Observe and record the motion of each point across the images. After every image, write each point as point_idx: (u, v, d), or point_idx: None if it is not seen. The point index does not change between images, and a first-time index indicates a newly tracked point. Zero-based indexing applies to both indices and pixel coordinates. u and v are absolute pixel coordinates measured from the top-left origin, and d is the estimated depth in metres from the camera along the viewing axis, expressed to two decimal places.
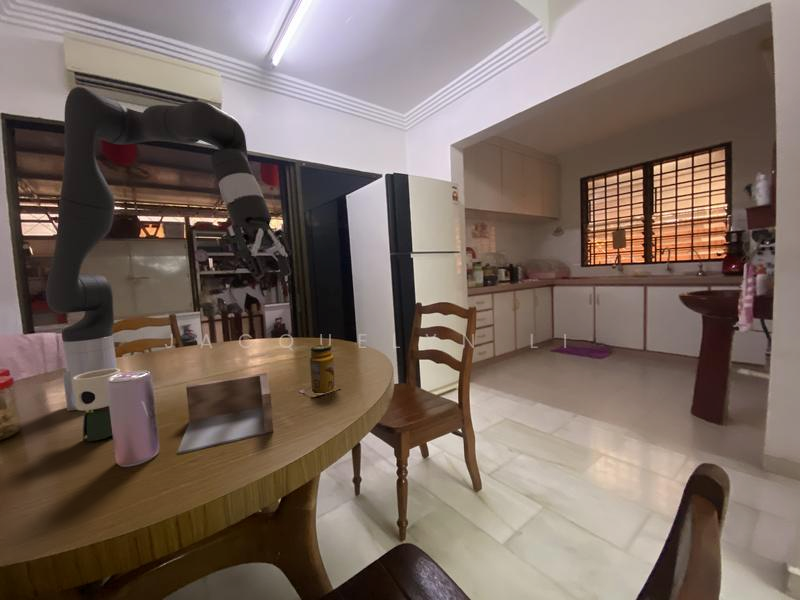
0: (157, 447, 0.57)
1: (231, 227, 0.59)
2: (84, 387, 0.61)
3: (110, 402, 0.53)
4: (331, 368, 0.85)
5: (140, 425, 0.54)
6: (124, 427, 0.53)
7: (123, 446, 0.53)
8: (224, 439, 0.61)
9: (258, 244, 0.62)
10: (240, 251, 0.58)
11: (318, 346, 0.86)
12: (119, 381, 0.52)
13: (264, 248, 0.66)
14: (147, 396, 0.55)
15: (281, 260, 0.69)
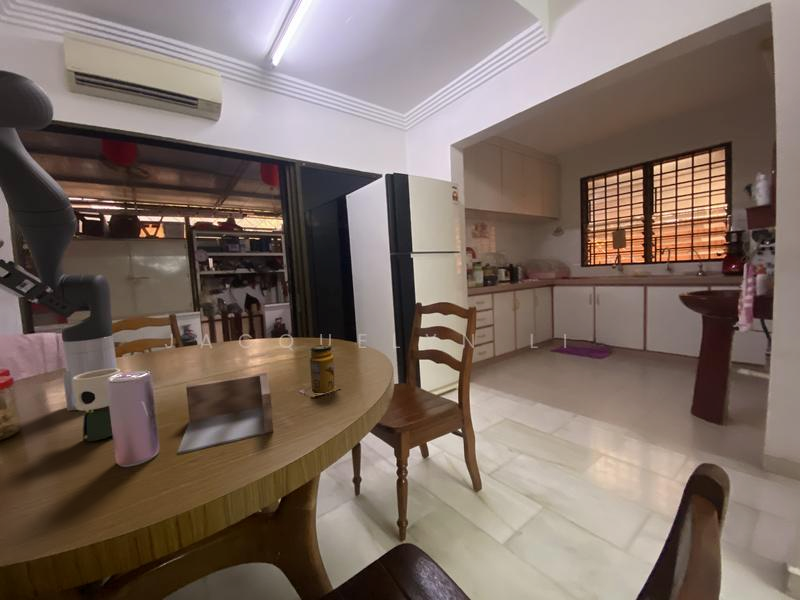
0: (157, 447, 0.57)
1: None
2: (84, 387, 0.61)
3: (110, 402, 0.53)
4: (331, 368, 0.85)
5: (140, 425, 0.54)
6: (124, 427, 0.53)
7: (123, 446, 0.53)
8: (224, 439, 0.61)
9: None
10: None
11: (318, 346, 0.86)
12: (119, 381, 0.52)
13: None
14: (147, 396, 0.55)
15: None
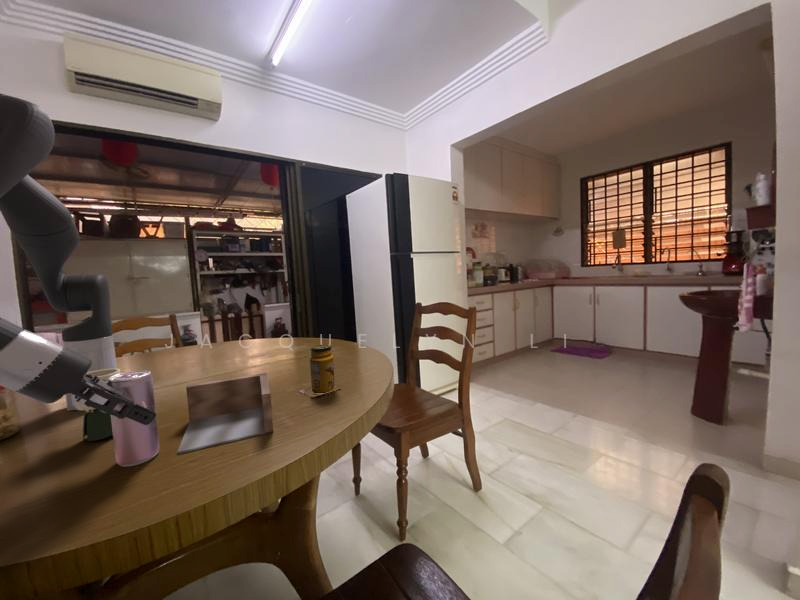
0: (157, 447, 0.57)
1: None
2: None
3: None
4: (331, 368, 0.85)
5: (141, 425, 0.54)
6: (124, 427, 0.53)
7: (124, 445, 0.53)
8: (224, 439, 0.61)
9: None
10: None
11: (318, 346, 0.86)
12: (120, 381, 0.52)
13: None
14: (147, 396, 0.55)
15: None
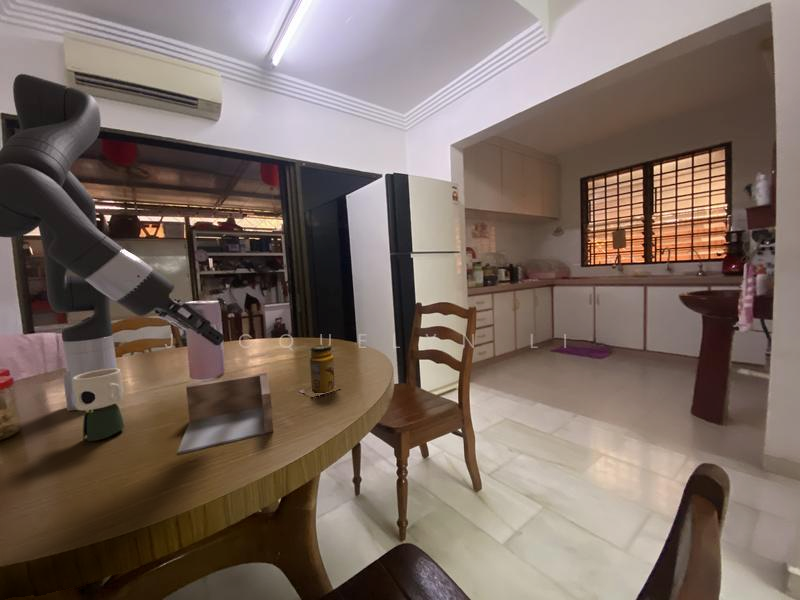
0: (224, 368, 0.63)
1: None
2: (84, 387, 0.61)
3: None
4: (331, 368, 0.85)
5: (212, 345, 0.61)
6: (199, 345, 0.59)
7: (198, 362, 0.60)
8: (224, 439, 0.61)
9: (176, 326, 0.61)
10: None
11: (318, 346, 0.86)
12: (196, 304, 0.59)
13: None
14: (217, 320, 0.62)
15: None
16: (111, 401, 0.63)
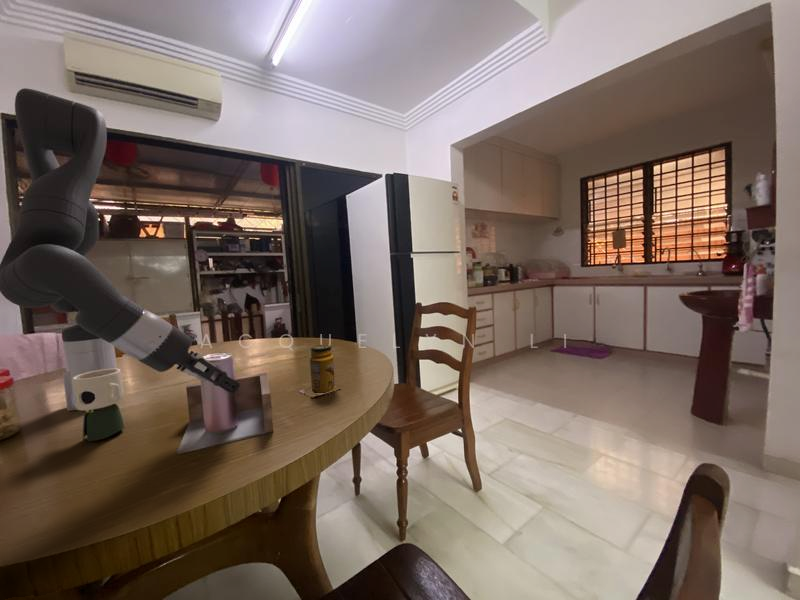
0: (237, 419, 0.66)
1: None
2: (84, 387, 0.61)
3: None
4: (331, 368, 0.85)
5: (226, 399, 0.63)
6: (214, 400, 0.62)
7: (213, 416, 0.62)
8: (224, 439, 0.61)
9: (190, 374, 0.63)
10: None
11: (318, 346, 0.86)
12: (211, 361, 0.61)
13: None
14: (231, 374, 0.64)
15: None
16: (111, 401, 0.63)
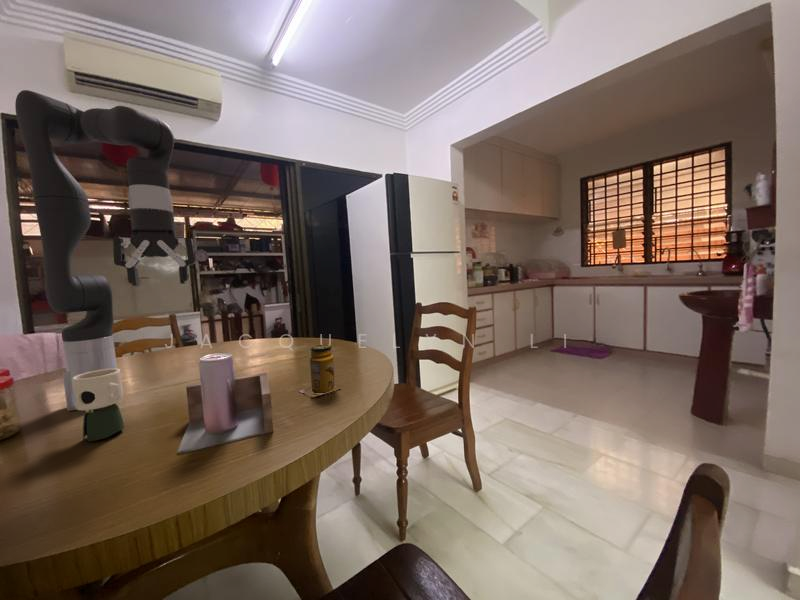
0: (237, 419, 0.66)
1: None
2: (84, 387, 0.61)
3: (202, 379, 0.62)
4: (331, 368, 0.85)
5: (226, 399, 0.63)
6: (214, 400, 0.62)
7: (213, 416, 0.62)
8: (224, 439, 0.61)
9: (136, 256, 0.67)
10: None
11: (318, 346, 0.86)
12: (211, 361, 0.61)
13: (160, 256, 0.71)
14: (231, 374, 0.64)
15: None
16: (111, 401, 0.63)
